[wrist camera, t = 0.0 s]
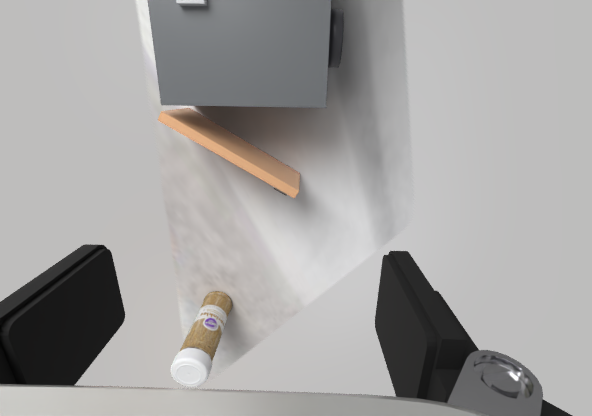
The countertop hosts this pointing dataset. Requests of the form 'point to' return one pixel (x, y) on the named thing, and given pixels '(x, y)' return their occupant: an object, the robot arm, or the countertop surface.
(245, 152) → the door
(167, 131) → the countertop surface
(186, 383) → the sprinkles bottle
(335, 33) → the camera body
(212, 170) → the countertop surface
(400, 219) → the countertop surface
